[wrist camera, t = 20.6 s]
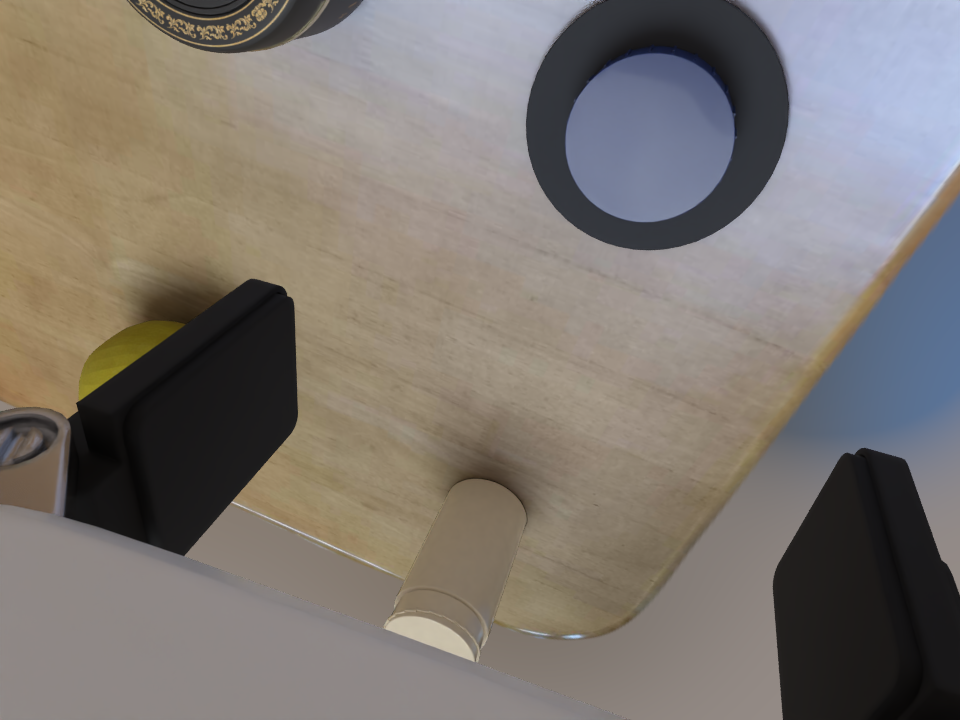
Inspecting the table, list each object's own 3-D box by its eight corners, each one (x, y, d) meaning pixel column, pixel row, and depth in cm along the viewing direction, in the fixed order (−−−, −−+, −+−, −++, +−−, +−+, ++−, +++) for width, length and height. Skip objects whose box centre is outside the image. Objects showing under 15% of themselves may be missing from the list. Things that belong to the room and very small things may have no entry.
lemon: (171, 407, 49) (87, 479, 42) (114, 313, 46) (14, 375, 39) (289, 393, 44) (215, 470, 38) (236, 287, 41) (145, 352, 35)
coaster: (833, 11, 25) (835, 12, 25) (734, 270, 32) (734, 275, 31) (552, -37, 27) (550, -36, 27) (511, 217, 33) (508, 220, 33)
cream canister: (533, 493, 43) (484, 636, 34) (519, 551, 46) (471, 696, 37) (450, 467, 44) (382, 600, 35) (442, 526, 47) (378, 661, 38)
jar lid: (606, 19, 27) (599, 24, 26) (768, 79, 27) (771, 87, 25) (550, 176, 31) (541, 189, 30) (690, 231, 31) (688, 247, 29)
